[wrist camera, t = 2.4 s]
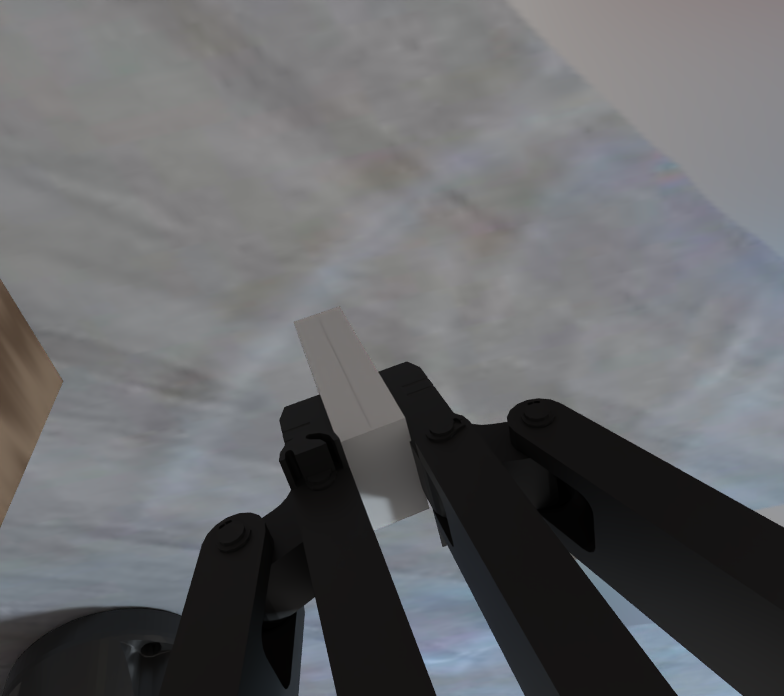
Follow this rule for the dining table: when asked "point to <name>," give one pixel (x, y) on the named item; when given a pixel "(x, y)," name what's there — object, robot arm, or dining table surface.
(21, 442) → the birch plank
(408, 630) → the robot arm
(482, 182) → the dining table surface
